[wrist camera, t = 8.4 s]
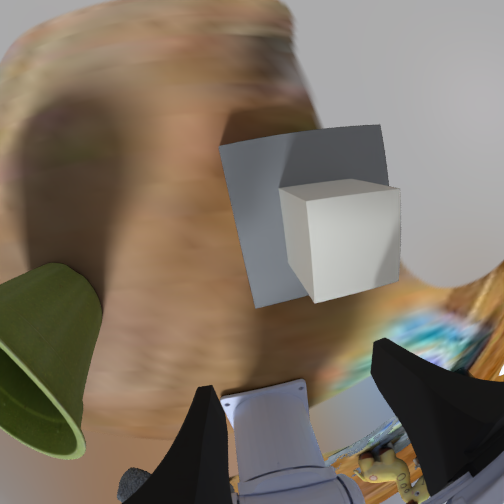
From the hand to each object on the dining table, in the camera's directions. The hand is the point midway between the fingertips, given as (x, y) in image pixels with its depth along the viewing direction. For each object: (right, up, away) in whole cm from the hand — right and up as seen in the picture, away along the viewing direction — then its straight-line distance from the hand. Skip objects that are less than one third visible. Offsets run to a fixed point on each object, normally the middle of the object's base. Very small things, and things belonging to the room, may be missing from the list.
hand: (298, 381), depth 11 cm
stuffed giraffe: (+18, -27, +22) cm, 39 cm away
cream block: (+2, +7, +5) cm, 9 cm away
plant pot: (-17, +1, +8) cm, 19 cm away
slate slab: (+2, +9, +8) cm, 12 cm away
